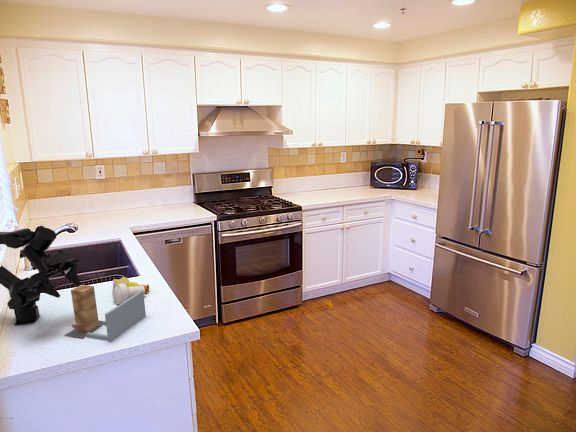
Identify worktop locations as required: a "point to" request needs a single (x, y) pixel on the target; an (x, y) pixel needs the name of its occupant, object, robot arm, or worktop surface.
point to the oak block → (84, 308)
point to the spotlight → (125, 292)
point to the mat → (82, 335)
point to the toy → (129, 283)
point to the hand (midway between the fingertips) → (70, 291)
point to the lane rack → (122, 317)
